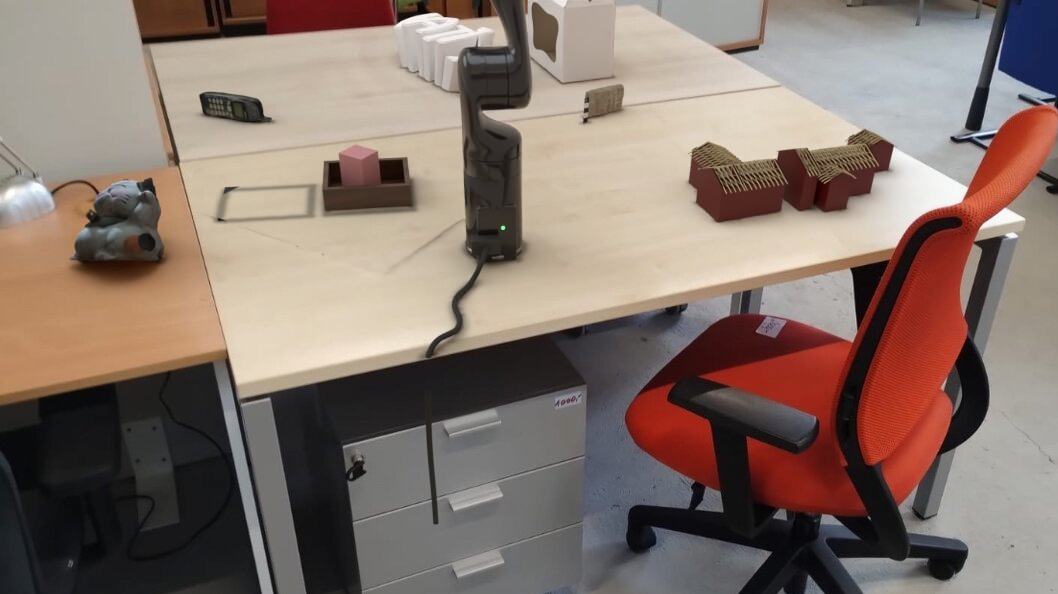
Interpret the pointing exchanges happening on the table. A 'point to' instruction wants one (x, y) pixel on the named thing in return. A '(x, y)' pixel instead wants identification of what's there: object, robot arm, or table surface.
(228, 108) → the mobile phone
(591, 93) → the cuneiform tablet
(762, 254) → the table surface
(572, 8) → the gable box
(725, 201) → the toy houses
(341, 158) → the block
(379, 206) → the crate
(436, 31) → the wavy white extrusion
